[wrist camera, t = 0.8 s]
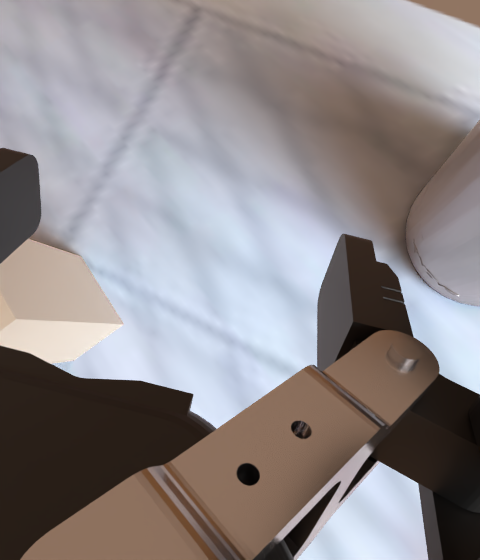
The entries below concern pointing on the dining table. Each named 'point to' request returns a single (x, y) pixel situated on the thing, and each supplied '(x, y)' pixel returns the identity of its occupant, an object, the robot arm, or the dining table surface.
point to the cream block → (52, 304)
